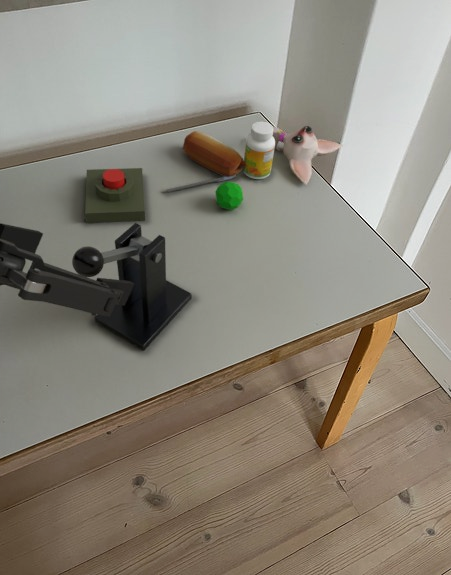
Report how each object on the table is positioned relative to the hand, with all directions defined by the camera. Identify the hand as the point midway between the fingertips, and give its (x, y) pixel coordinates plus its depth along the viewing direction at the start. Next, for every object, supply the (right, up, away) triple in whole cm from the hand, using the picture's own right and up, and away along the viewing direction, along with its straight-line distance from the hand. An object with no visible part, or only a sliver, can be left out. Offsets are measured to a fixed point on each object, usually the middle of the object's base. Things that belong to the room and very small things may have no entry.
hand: (80, 267), depth 66 cm
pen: (+12, +17, +41) cm, 46 cm away
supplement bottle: (+23, +20, +45) cm, 54 cm away
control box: (-3, +13, +37) cm, 39 cm away
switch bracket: (+5, -6, +20) cm, 22 cm away
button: (-3, +16, +34) cm, 38 cm away
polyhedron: (+17, +12, +38) cm, 43 cm away
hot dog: (+12, +21, +42) cm, 49 cm away
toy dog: (+24, +30, +48) cm, 62 cm away
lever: (+2, 0, +6) cm, 7 cm away
